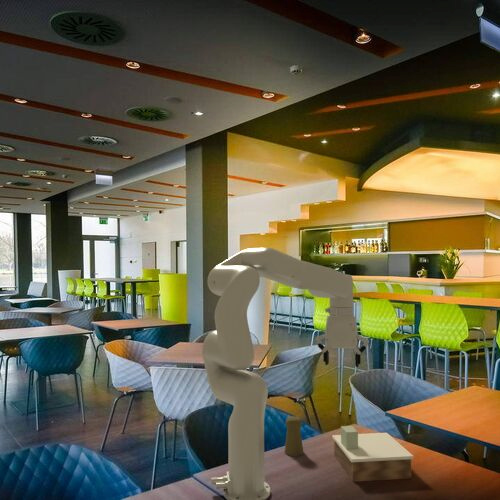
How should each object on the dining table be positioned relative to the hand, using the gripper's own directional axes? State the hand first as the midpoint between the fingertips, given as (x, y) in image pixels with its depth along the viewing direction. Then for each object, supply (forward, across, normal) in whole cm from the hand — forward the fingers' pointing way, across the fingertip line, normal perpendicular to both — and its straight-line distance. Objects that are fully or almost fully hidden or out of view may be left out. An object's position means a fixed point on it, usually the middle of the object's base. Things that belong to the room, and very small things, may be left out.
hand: (341, 365), depth 145 cm
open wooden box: (+28, +9, -8) cm, 30 cm away
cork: (+28, -15, -5) cm, 32 cm away
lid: (+22, +9, -8) cm, 25 cm away
